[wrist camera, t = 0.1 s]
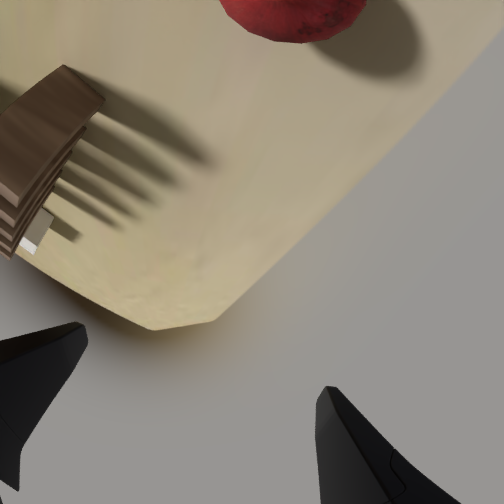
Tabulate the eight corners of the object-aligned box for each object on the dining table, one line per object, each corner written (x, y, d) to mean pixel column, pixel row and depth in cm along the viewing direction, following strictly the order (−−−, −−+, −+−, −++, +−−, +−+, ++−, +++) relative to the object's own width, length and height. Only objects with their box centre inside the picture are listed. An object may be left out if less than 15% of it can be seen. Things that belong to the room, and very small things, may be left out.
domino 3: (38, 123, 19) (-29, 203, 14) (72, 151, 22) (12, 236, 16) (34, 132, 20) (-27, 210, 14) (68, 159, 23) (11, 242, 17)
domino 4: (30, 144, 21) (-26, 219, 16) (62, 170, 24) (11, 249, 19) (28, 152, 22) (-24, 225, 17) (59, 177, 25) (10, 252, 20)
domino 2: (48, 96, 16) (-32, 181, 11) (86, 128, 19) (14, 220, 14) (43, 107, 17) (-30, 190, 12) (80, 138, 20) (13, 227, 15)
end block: (10, 182, 27) (-10, 210, 25) (54, 217, 33) (37, 246, 30) (8, 196, 30) (-9, 222, 28) (48, 227, 36) (33, 254, 33)
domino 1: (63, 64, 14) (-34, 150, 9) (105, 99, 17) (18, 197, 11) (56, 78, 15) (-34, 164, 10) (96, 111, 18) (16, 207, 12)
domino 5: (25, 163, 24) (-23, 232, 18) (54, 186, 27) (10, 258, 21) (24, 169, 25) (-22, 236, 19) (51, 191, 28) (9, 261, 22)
